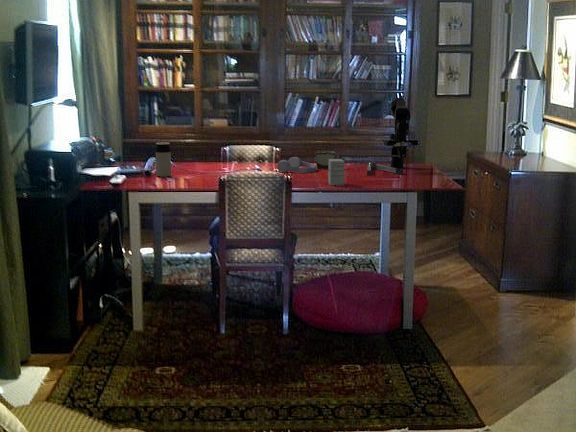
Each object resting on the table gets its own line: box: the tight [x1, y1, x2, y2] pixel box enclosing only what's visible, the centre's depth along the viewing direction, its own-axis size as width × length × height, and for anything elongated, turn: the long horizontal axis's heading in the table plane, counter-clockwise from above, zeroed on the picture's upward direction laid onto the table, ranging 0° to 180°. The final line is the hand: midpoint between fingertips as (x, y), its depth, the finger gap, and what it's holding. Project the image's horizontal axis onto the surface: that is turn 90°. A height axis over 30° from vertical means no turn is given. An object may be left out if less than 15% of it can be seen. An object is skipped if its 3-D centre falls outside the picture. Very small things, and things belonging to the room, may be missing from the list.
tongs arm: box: [374, 163, 405, 175], centre depth 451 cm, size 24×2×2 cm, turn 29°
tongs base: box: [366, 161, 377, 176], centre depth 451 cm, size 28×5×4 cm, turn 174°
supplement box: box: [327, 158, 345, 187], centre depth 406 cm, size 7×7×13 cm
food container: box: [314, 150, 337, 170], centre depth 463 cm, size 12×6×10 cm, turn 84°
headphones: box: [276, 156, 318, 174], centre depth 455 cm, size 22×7×20 cm
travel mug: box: [155, 141, 172, 178], centre depth 432 cm, size 8×8×18 cm
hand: (400, 157), depth 450 cm, fingers closed
